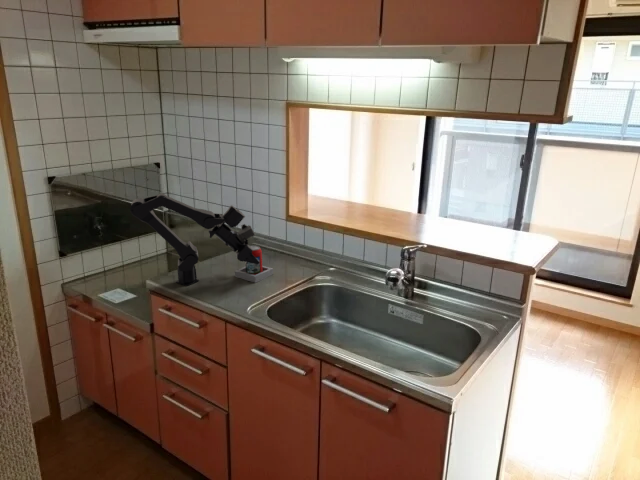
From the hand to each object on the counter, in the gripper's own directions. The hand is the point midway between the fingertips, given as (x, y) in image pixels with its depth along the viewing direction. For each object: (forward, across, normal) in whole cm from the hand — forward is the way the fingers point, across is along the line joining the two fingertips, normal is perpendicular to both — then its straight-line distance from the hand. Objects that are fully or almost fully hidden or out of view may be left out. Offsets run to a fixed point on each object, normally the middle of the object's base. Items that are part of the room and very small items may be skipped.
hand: (257, 259), depth 201 cm
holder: (+4, 0, +6) cm, 7 cm away
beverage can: (+4, 0, +6) cm, 7 cm away
